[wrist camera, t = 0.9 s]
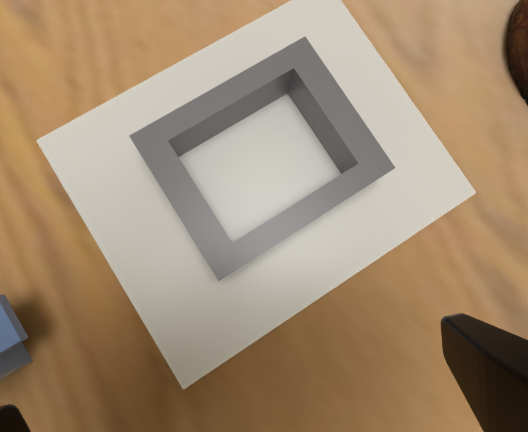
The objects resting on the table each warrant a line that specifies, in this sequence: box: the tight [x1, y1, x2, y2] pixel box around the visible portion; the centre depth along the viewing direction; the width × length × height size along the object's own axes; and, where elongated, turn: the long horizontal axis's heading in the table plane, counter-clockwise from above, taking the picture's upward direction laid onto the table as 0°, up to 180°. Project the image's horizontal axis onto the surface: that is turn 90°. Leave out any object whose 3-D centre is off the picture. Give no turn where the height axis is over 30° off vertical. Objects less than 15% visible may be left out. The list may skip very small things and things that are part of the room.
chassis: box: [36, 0, 476, 390], centre depth 20 cm, size 20×16×4 cm
